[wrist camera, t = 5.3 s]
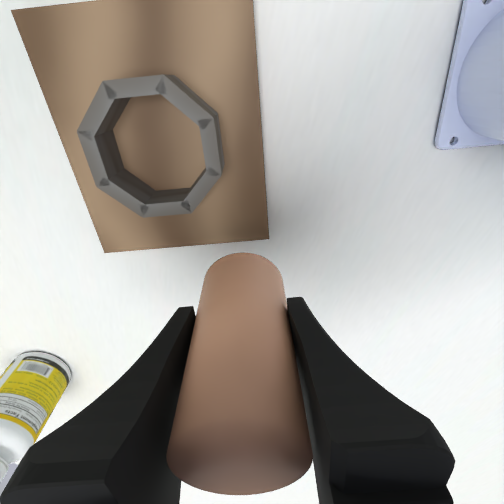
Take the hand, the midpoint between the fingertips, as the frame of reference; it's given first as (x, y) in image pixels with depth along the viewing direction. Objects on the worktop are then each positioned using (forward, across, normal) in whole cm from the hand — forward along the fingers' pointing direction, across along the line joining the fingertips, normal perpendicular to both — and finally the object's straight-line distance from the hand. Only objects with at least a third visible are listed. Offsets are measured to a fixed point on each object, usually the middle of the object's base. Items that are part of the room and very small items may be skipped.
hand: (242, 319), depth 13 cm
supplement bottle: (+11, +22, +14) cm, 28 cm away
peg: (+2, 0, 0) cm, 2 cm away
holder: (+10, +4, -6) cm, 13 cm away
